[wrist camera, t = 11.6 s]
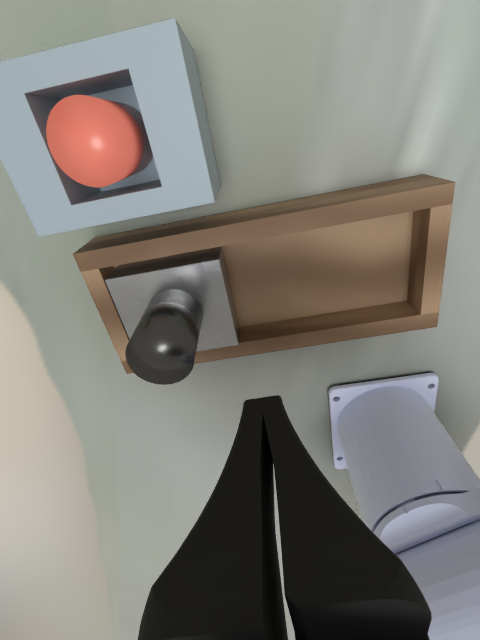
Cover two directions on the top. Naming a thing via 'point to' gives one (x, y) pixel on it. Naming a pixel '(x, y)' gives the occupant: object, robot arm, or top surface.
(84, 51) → the button housing
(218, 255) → the carriage
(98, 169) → the button
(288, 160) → the top surface
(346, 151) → the top surface
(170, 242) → the rail
